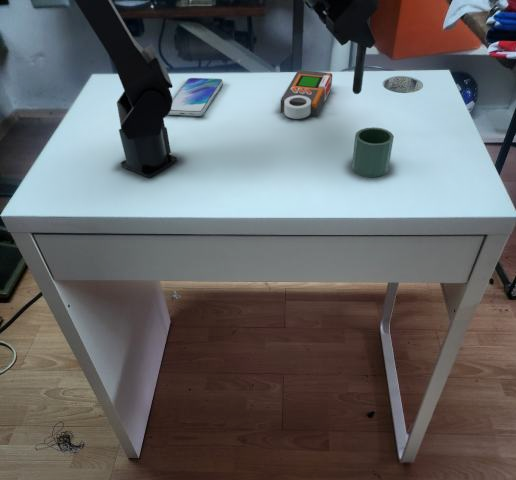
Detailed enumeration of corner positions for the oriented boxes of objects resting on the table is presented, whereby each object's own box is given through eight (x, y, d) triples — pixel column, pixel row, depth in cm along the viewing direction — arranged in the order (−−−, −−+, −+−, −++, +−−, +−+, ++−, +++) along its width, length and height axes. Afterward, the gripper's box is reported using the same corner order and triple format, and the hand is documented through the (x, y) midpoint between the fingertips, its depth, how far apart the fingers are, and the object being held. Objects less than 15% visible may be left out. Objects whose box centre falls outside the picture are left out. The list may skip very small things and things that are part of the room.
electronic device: (276, 104, 86) (298, 67, 95) (276, 121, 89) (298, 83, 97) (315, 108, 85) (333, 70, 94) (314, 125, 87) (332, 86, 96)
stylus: (360, 96, 78) (373, -12, 67) (350, 95, 78) (361, -13, 68) (362, 92, 79) (375, -15, 68) (352, 91, 79) (364, -16, 69)
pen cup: (377, 181, 74) (382, 148, 70) (345, 170, 76) (348, 138, 72) (394, 165, 76) (400, 133, 73) (362, 155, 79) (367, 124, 75)
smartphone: (163, 110, 90) (188, 77, 99) (164, 115, 90) (189, 82, 100) (201, 112, 88) (223, 78, 98) (202, 117, 89) (224, 83, 99)
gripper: (373, -96, 54) (445, 14, 64) (326, -118, 66) (391, -24, 76) (300, -3, 59) (376, 85, 69) (268, -40, 72) (336, 40, 81)
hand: (370, 43), depth 73 cm, fingers closed on stylus, 1 cm apart
